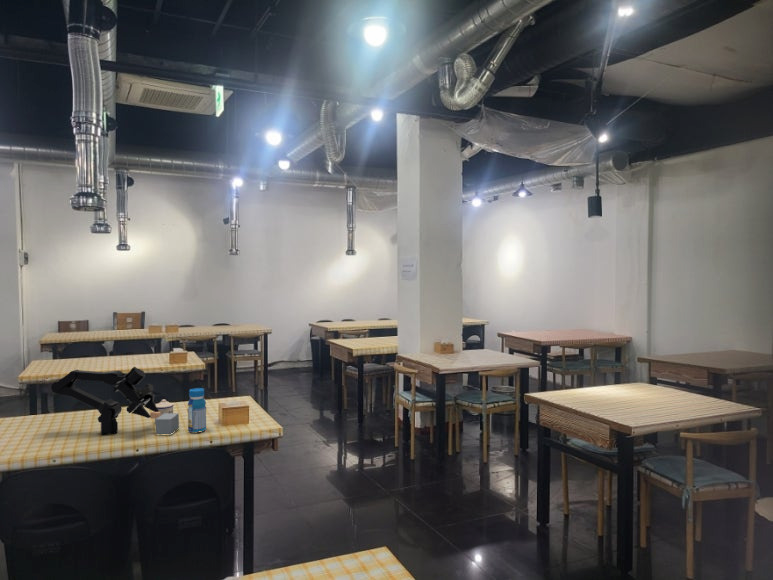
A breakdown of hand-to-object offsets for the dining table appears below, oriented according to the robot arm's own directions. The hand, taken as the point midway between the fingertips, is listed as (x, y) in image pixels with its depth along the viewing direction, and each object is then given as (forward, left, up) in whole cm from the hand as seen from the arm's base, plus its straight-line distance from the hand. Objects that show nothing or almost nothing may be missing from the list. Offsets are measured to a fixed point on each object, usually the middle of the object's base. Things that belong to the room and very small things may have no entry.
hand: (154, 414), depth 246 cm
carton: (+5, -3, -8) cm, 11 cm away
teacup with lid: (+8, +16, -9) cm, 20 cm away
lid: (+4, -2, -1) cm, 4 cm away
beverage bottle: (+17, -9, -9) cm, 22 cm away
